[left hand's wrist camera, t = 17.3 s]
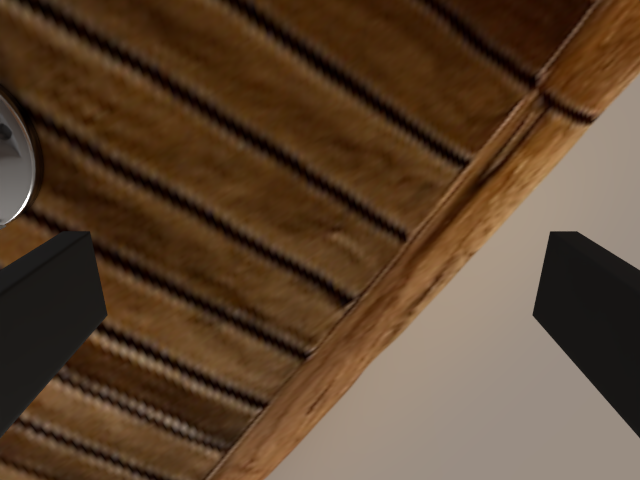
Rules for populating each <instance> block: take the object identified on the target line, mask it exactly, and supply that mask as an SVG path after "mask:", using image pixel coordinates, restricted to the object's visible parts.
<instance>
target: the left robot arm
mask: <svg viewBox="0 0 640 480" xmlns="http://www.w3.org/2000/svg"><path fill="white" fill-rule="evenodd" d="M42 179H43V156H42V150H41V146H40V142H39V139H38V136H37V134H36V131H35V129H34V127H33V125H32V123H31V121H30V119H29V118H28V116H27V114H26V113H25V111H24V110H23V108H22V107H21V106H20V105H19V103H18V102H17V101H16V100H15V98H14V97H13V96H12V95H11V94H10V93H9V92H8V91H7V90H6V89H5V88H4V87H3V86H1V85H0V229H2V228H4V227H6V226H4V225H5V224H7V223H9V222H11V221H13V220H15V219H17V218H18V217H20V216H21V215H22V214H24V213H25V212H26V211H27V210H28V209H29V208H30V206H31V205H32V204H33V202H34V201H35V199H36V197H37V195H38V193H39V191H40V188H41V184H42ZM106 316H107V310H106V306H105V301H104V296H103V292H102V287H101V282H100V277H99V273H98V268H97V263H96V258H95V254H94V249H93V244H92V240H91V235H90V231H63V232H61V233H60V234H58V235H56V236H55V237H53V238H52V239H50V240H48V241H47V242H45V243H44V244H42V245H40V246H39V247H37V248H36V249H34V250H32V251H31V252H29V253H27V254H26V255H24V256H23V257H21V258H19V259H18V260H16V261H15V262H13V263H11V264H10V265H8V266H6V267H5V268H3V269H2V270H0V438H1V436H2V435H3V434H4V433H5V432H6V431H7V430H8V428H9V427H10V426H11V425H12V424H13V423H14V422H15V420H16V419H17V418H18V417H19V416H20V415H21V414H22V412H23V411H24V410H25V409H26V408H27V407H28V406H29V404H30V403H31V402H32V401H33V400H34V399H35V398H36V396H37V395H38V394H39V393H40V392H41V391H42V390H43V388H44V387H45V386H46V385H47V384H48V383H49V382H50V380H51V379H52V378H53V377H54V376H55V375H56V374H57V372H58V371H59V370H60V369H61V368H62V367H63V366H64V364H65V363H66V362H67V361H68V360H69V359H70V358H71V356H72V355H73V354H74V353H75V352H76V351H77V350H78V348H79V347H80V346H81V345H82V344H83V343H84V342H85V340H86V339H87V338H88V337H89V336H90V335H91V334H92V332H93V331H94V330H95V329H96V328H97V327H98V326H99V324H100V323H101V322H102V321H103V320H104V319H105V317H106ZM533 316H534V317H535V319H536V320H537V321H538V322H539V323H540V324H541V326H542V327H543V328H544V329H545V330H546V331H547V332H548V334H549V335H550V336H551V337H552V338H553V339H554V340H555V342H556V343H557V344H558V345H559V346H560V347H561V348H562V350H563V351H564V352H565V353H566V354H567V355H568V356H569V358H570V359H571V360H572V361H573V362H574V363H575V364H576V366H577V367H578V368H579V369H580V370H581V371H582V372H583V374H584V375H585V376H586V377H587V378H588V379H589V380H590V382H591V383H592V384H593V385H594V386H595V387H596V388H597V390H598V391H599V392H600V393H601V394H602V395H603V396H604V398H605V399H606V400H607V401H608V402H609V403H610V404H611V406H612V407H613V408H614V409H615V410H616V411H617V412H618V414H619V415H620V416H621V417H622V418H623V419H624V420H625V422H626V423H627V424H628V425H629V426H630V427H631V428H632V430H633V431H634V432H635V433H636V434H637V435H638V436H639V438H640V270H638V269H637V268H635V267H633V266H632V265H630V264H629V263H627V262H625V261H624V260H622V259H621V258H619V257H617V256H616V255H614V254H612V253H611V252H609V251H608V250H606V249H604V248H603V247H601V246H600V245H598V244H596V243H595V242H593V241H592V240H590V239H588V238H587V237H585V236H584V235H582V234H580V233H579V232H577V231H576V232H575V231H568V232H566V231H562V232H561V231H557V232H556V231H555V232H550V235H549V240H548V244H547V249H546V254H545V258H544V263H543V268H542V273H541V277H540V282H539V287H538V291H537V296H536V301H535V306H534V311H533Z"/></svg>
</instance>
